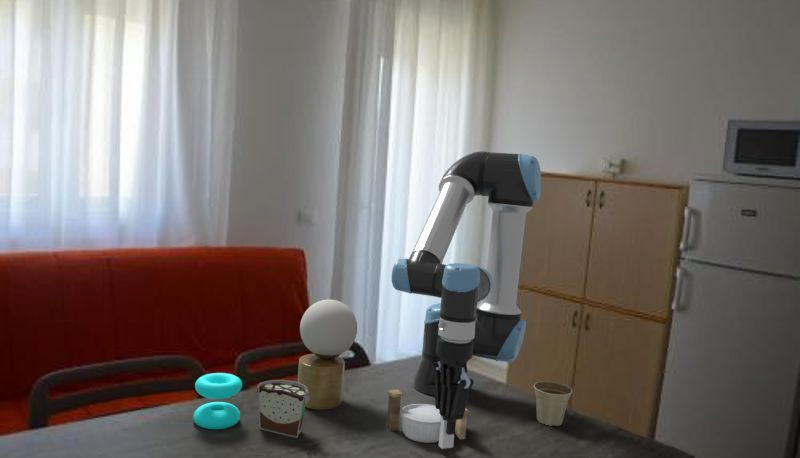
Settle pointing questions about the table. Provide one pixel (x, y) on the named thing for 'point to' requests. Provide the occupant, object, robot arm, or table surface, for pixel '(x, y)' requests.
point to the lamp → (325, 351)
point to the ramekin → (421, 422)
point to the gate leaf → (461, 426)
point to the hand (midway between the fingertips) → (445, 446)
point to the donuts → (217, 412)
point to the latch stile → (393, 409)
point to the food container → (282, 406)
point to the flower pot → (551, 402)
